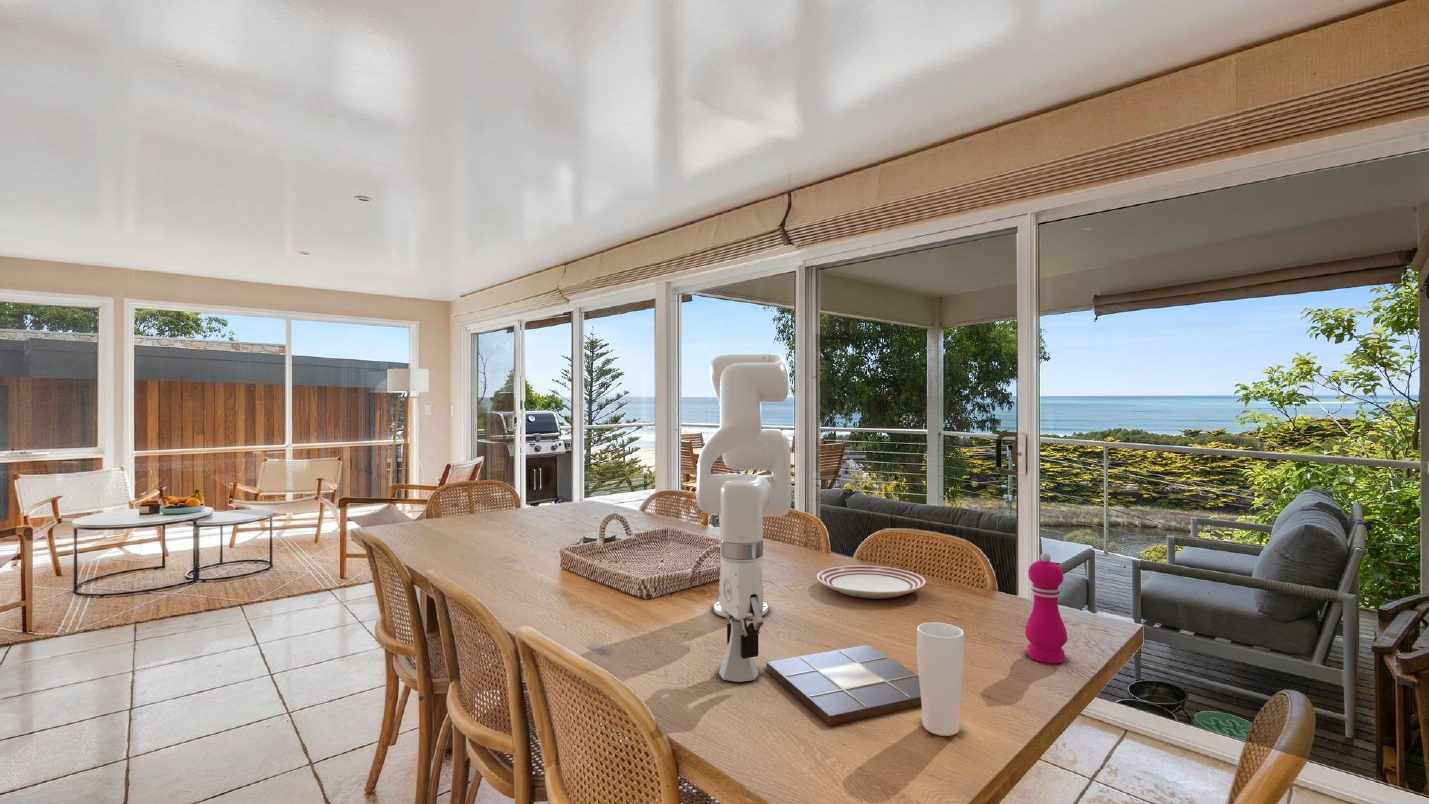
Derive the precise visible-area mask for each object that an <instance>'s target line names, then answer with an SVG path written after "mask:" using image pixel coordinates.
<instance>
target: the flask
mask: <svg viewBox="0 0 1429 804" xmlns="http://www.w3.org/2000/svg"><path fill="white" fill-rule="evenodd" d="M746 622H747V623H748V620H747V621H746ZM730 623H731V635H730V641H729V644H728V645H727V648H726V651H725V654H724V656H723V657H724V658H723V660H722V663H721V665H720V667H719V670H718V674H719V676H720V677H721V678H722V680H725V681H729V682H730V681H731V682H737V683H742V682H749V681H754V680H756V678H757V677H758V675H759V673H760V672H759V670H758V666H757V664H756V662H755V659H754V658H755V657H751V658H745V659H743V658H742V657H741V635H743V632H742V625H741V620H737V619H736V618H734V617H732V618H731V619H730Z"/></svg>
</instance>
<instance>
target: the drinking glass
mask: <svg viewBox="0 0 1429 804" xmlns="http://www.w3.org/2000/svg"><path fill="white" fill-rule="evenodd" d="M916 660H917V672H918V675H919V682H920V694H921V705H922V706H921V724H922V726H923V728H924V729H925V730H926V731H928V732H929V733H931V734H933V735H936V736H940V737H949V736H950V737H951V736H955V735H956V734H958V733H959V731H960V725H961V724H960V720H961V719H960V718H961V717H960V716H961V703H962V692H963V691H962V690H963V680H964V669H965V633H964V630H963V629H962V628H961V627H958V626H957V625H954V624H950V623H946V622H940V621H939V622H937V621H932V622H931V621H930V622H924V623H921V624H919V625H918V626H917V627H916Z"/></svg>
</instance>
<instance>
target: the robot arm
mask: <svg viewBox="0 0 1429 804" xmlns="http://www.w3.org/2000/svg"><path fill="white" fill-rule="evenodd" d="M709 376H710V382H711V385H712V388H713V391H714V393H715V396H716V398H717V401H718V403H719V428H718V429H717V430H716V431H715V432H714V433H713V434H712V435H711V436H710V437H709V438H708V440H707V441H706V442H705V444H704V445H703V446H702V449H701V451H700V452H699V456H698V459H697V465H696V483H695V499H696V504H697V507H698V509H699V510H700V511H701V512H702V513H705V514H708V515H718V518H719V519H718V520H719V550H720V551H719V552H720V553H719V557H720V558H719V560H720V562H719V563H720V567H719V568H720V569H719V581H718V583H719V585H718V586H719V587H718V601H717V602H715V603H714V604H713V611H714V613H715V614H716V615H718V616H719V617H723V618H725V620H726V644H727V646H728V644H729V641H730V635H731V623H730V619H731V618H732V617H734V618H736V619H737V620H741V625H742V632H743V635H741V657H742V658H743V659H745V658H751V657H753V658H756V657H757V658H758V656H759V635H760V633H761V632H760V629H761V628H762V626H763V625H764V618H763V616H765V615H767V613H768V612H769V606H768V604H767V603H766V602H765V601H764V580H763V569H762V568H763V567H762V560H763V559H764V520H763V519H764V518H778V517H781V518H782V517H785V516H787V515H788V514H789V512H790V511H791V508H792V461H791V460H792V458H791V457H792V455H791V444H790V439H789V437H788V434H787V433H786V432H785V431H784V430H781V429H776V428H763V426H762V403H782V402H785V400H787V398H788V396H789V393H790V374H789V369H788V366H787V363H786V360H785V359H784V357H783V356H782V355H781V354H779V353H727V354H726V353H725V354H720V355H717V356H714V357H713V358H712V359H711V361H710V363H709ZM719 457H722V461H723V464H724V466H725V467H726V468H728V469H730V470H731V469H732V470H740V471H741V470H742V471H760V470H761V471H769V472H770V473H771V475H760V474H749V473H747V474H745V473H744V474H743V473H742V474H739V473H718V474H717V473H715V474H713V473H711V472H712V466H713V464H714V463H715V461H716V460H717V459H719ZM746 621H747V622H746ZM748 621H751V622H749V623H748Z"/></svg>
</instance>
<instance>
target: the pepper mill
mask: <svg viewBox="0 0 1429 804" xmlns="http://www.w3.org/2000/svg"><path fill="white" fill-rule="evenodd" d="M1039 558H1040V560H1037V561H1034V562H1032V563H1031V564H1030V566H1029V567H1028V571H1027V572H1028V576H1027V577H1028V579H1029V580H1030V581H1031V583H1032V584H1031V586H1030V588H1031V590H1030V592H1031V594H1032V595H1033V604H1032V605H1033V606H1032V610H1031V613H1030V614H1029V617H1028V619H1027V620H1026V623H1025V627H1024V635H1025V638H1026V639H1027V640H1028V642H1029V644H1027V655H1028V657H1029V658H1030V659H1032V660H1034V661H1037V662H1041V663H1044V664H1061V663H1063V662H1064V661H1065V650H1064V648H1062V647H1064V646H1065V645H1066V643H1067V641H1068V632H1067V629H1066V625H1065V624H1064V621H1063V619H1062V616H1061V613H1060V609H1059V597H1061V588H1060V585H1062V583H1063V582H1064V572H1063V569H1062V568H1061V566H1059V564H1057V563H1056V562H1053V561H1051V558H1052V557H1051V554H1050V553H1047V552H1042V553H1041V554H1040V557H1039Z"/></svg>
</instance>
